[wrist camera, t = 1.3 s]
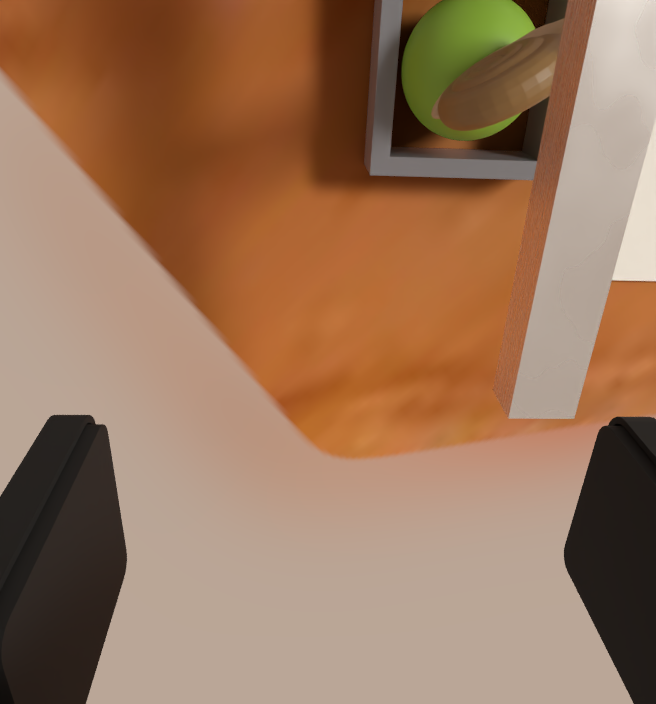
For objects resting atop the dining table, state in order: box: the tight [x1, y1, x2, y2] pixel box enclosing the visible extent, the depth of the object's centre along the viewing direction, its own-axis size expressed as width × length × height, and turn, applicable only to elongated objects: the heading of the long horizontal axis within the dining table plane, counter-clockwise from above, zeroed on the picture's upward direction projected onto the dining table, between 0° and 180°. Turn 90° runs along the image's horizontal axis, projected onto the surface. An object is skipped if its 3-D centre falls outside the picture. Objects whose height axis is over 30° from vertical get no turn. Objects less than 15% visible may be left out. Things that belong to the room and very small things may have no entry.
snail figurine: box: [401, 0, 564, 141], centre depth 22 cm, size 5×6×12 cm
